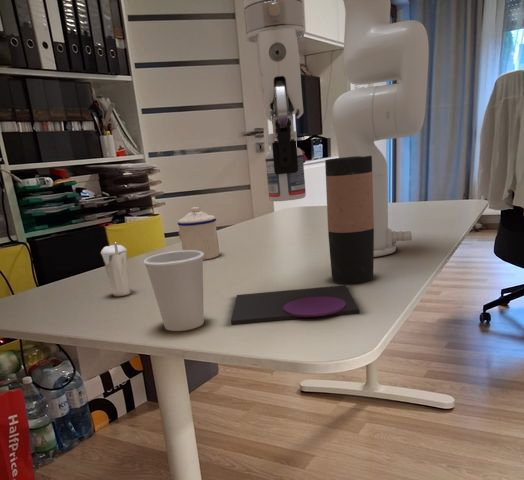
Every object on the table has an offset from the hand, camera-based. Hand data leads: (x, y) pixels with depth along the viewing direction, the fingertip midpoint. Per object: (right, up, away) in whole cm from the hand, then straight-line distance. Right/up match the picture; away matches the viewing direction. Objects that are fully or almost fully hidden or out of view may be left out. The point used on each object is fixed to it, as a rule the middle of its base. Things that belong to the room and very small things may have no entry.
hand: (285, 170), depth 73 cm
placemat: (+1, -18, +6) cm, 19 cm away
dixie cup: (-15, -22, +2) cm, 26 cm away
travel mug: (+12, -13, +18) cm, 25 cm away
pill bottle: (0, -4, +1) cm, 4 cm away
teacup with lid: (-19, -3, +53) cm, 56 cm away
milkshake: (-29, -15, +23) cm, 41 cm away
